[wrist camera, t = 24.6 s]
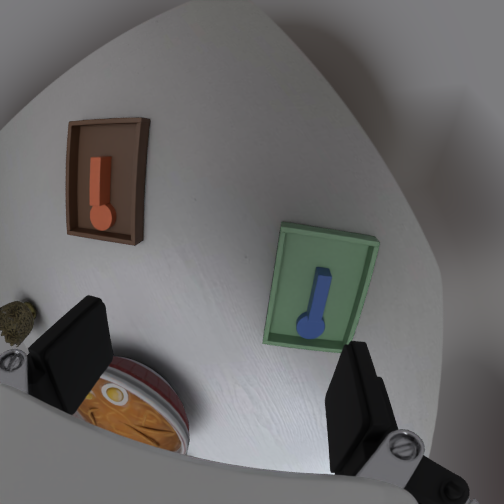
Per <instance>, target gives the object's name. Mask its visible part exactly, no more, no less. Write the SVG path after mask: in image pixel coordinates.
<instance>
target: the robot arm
mask: <svg viewBox="0 0 504 504" xmlns="http://www.w3.org/2000/svg"><path fill="white" fill-rule="evenodd" d="M28 350H29V354H28V355H26V354H25V352H23V351H22V350H18V349H11V350H7V351H5V352H3V353H2V354H1V355H0V504H479V503H478V502H477V501H476V500H475V499H473V500H472V501H471V500H470V499H469V487H468V484H467V483H466V481H465V480H464V479H462V478H461V477H460V476H458V475H456V474H454V473H452V472H451V471H449V470H447V469H446V468H444V467H442V466H440V465H439V464H437V463H435V462H433V461H432V460H430V459H429V458H427V457H425V456H424V455H423V454H424V451H425V447H424V443H423V441H422V439H421V438H420V437H419V436H418V435H417V434H415V433H414V432H412V431H409V430H404V429H400V430H398V427H397V424H396V420H395V417H394V414H393V410H392V407H391V404H390V400H389V397H388V394H387V391H386V388H385V385H384V382H383V379H382V378H381V377H377V375H376V372H375V369H374V365H373V362H372V359H371V356H370V353H369V350H368V347H367V344H366V343H365V342H358V341H350V342H349V344H345V345H344V347H343V349H342V352H341V355H340V358H339V361H338V364H337V366H336V369H335V372H334V375H333V377H332V380H331V383H330V385H329V388H328V391H327V393H326V397H325V408H326V419H327V431H328V444H329V459H330V471H331V473H335V475H330V474H313V473H297V472H286V471H276V470H267V469H258V468H251V467H244V466H237V465H231V464H226V463H220V462H215V461H210V460H205V459H201V458H196V457H192V456H188V455H184V454H180V453H176V452H172V451H168V450H165V449H161V448H158V447H154V446H151V445H148V444H145V443H141V442H138V441H135V440H132V439H129V438H127V437H124V436H121V435H118V434H115V433H113V432H110V431H108V430H105V429H102V428H100V427H97V426H95V425H92V424H90V423H88V422H85V421H83V420H81V419H79V418H76V417H74V416H72V415H73V414H74V413H75V412H76V411H77V409H78V408H79V406H80V405H81V404H82V402H83V401H84V399H85V398H86V396H87V395H88V394H89V392H90V391H91V389H92V388H93V387H94V385H95V384H96V383H97V381H98V380H99V378H100V377H101V376H102V374H103V373H104V372H105V370H106V369H107V368H108V366H109V365H110V363H111V362H112V360H113V350H112V345H111V339H110V334H109V327H108V321H107V314H106V307H105V304H104V303H103V302H102V300H101V299H100V298H97V297H93V296H90V295H88V296H86V297H85V298H84V299H82V300H81V301H80V302H79V303H78V304H77V305H75V306H74V307H73V308H72V309H71V310H70V311H69V312H67V313H66V314H65V315H64V316H63V317H62V318H61V319H59V320H58V321H57V322H56V323H55V324H54V325H53V326H52V327H51V328H49V329H48V330H47V331H46V332H45V333H44V334H43V335H42V336H41V337H40V338H38V339H37V340H36V341H35V342H34V343H33V344H32V345H31V346H30V347H29V348H28Z"/></svg>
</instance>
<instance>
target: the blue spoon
mask: <svg viewBox="0 0 504 504" xmlns="http://www.w3.org/2000/svg"><path fill="white" fill-rule="evenodd" d="M331 280H332V275H331V272H330V270H329V268H322V267H316V271H315V275H314V280H313V285H312V290H311V294H310V299H309V303H308V308H307V311H306V312H304V313H302V314H301V315H300V316H299V317H298V318H297V321H296V330H297V332H298V334H299V335H300V336H301V337H303V338H305V339H314V338H317V337H319V336H320V335H321V334H322V333H323V332H324V329H325V323H324V318H323V317H322V316H323V313H324V309H325V305H326V301H327V297H328V292H329V288H330V284H331Z"/></svg>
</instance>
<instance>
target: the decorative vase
mask: <svg viewBox="0 0 504 504" xmlns="http://www.w3.org/2000/svg"><path fill="white" fill-rule="evenodd" d="M36 316H37V312H36V309H35V307H34V305H33V304H32V303H30V302H24V303H22V302H20V301H14V302H11V303H9V304H7V305H5V306H2V307H1V308H0V330H1V331H2V333H1V336H5V341H6V343H10V345H11V346H13V345H14V344H16V345H18V346H19V345H20V344H21V343H22V342H23V340H24V339H25V338H26V337H27V336H28V335H29V333H30V332H31V330H32V328H33V325H34V319H35V318H36ZM18 346H17V347H18Z"/></svg>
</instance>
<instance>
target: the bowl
mask: <svg viewBox="0 0 504 504" xmlns="http://www.w3.org/2000/svg"><path fill="white" fill-rule="evenodd" d="M72 416H74V417H76V418H79V419H81V420H83V421H85V422H88V423H90V424H92V425H95V426H97V427H100V428H102V429H105V430H108V431H110V432H113V433H115V434H118V435H121V436H124V437H127V438H129V439H132V440H135V441H138V442H141V443H145V444H148V445H151V446H154V447H158V448H161V449H165V450H168V451H172V452H176V453H180V454H184V455H186V453H187V450H188V446H189V441H190V439H189V422H188V419H187V416H186V412H185V409H184V407H183V404H182V402H181V401H180V399H179V397H178V396H177V394H176V393H175V391H174V389H173V388H172V387H171V386H170V385H169V383H168V382H167V381H166V380H165V379H164V378H162V377H161V376H160V375H159V374H158V373H156V372H155V371H154V370H152V369H151V368H149V367H147V366H145V365H144V364H142V363H139V362H137V361H135V360H132V359H128V358H125V357H117V356H113V360H112V362H111V363H110V365H109V366H108V368H107V369H106V370H105V372H104V373H103V374H102V376H101V377H100V378H99V380H98V381H97V383H96V384H95V385H94V387H93V388H92V389H91V391H90V392H89V394H88V395H87V396H86V398H85V399H84V401H83V402H82V404H81V405H80V406H79V408H78V409H77V411H76V412H75V413H74V414H73V415H72Z"/></svg>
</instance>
